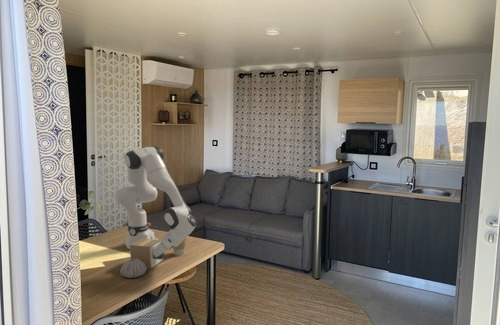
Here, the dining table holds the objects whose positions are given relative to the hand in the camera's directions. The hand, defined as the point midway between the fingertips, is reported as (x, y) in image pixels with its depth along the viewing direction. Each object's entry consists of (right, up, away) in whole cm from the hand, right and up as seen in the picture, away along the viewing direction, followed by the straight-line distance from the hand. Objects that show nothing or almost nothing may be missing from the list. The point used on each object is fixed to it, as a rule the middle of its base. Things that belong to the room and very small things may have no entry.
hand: (157, 254), depth 205 cm
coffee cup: (+8, -5, +21) cm, 23 cm away
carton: (-8, -6, +6) cm, 12 cm away
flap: (+1, -6, +4) cm, 7 cm away
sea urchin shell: (-10, -8, -9) cm, 16 cm away
